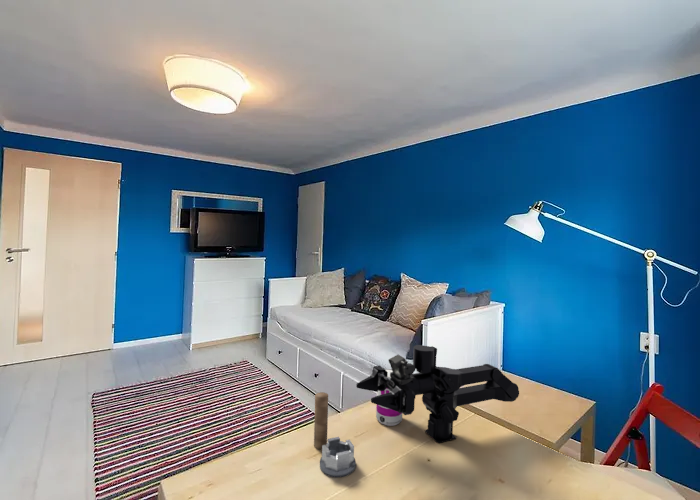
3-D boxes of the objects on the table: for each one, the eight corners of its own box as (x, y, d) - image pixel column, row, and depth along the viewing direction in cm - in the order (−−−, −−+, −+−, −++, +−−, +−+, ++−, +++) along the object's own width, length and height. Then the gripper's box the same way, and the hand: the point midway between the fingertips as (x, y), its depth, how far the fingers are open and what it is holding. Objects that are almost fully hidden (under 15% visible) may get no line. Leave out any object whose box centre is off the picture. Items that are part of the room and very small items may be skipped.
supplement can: (401, 428, 105) (402, 379, 105) (374, 424, 107) (375, 376, 106) (402, 415, 113) (404, 369, 112) (377, 411, 115) (379, 367, 114)
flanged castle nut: (347, 451, 93) (347, 432, 93) (361, 472, 85) (361, 452, 85) (315, 458, 90) (315, 439, 89) (326, 481, 81) (326, 460, 81)
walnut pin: (324, 440, 98) (325, 391, 97) (328, 447, 94) (330, 397, 94) (312, 443, 96) (313, 393, 96) (316, 450, 93) (317, 399, 93)
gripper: (397, 346, 106) (350, 351, 100) (435, 368, 89) (380, 375, 83) (396, 382, 106) (349, 389, 100) (433, 410, 89) (379, 421, 83)
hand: (363, 392), depth 91 cm, fingers open, 9 cm apart
